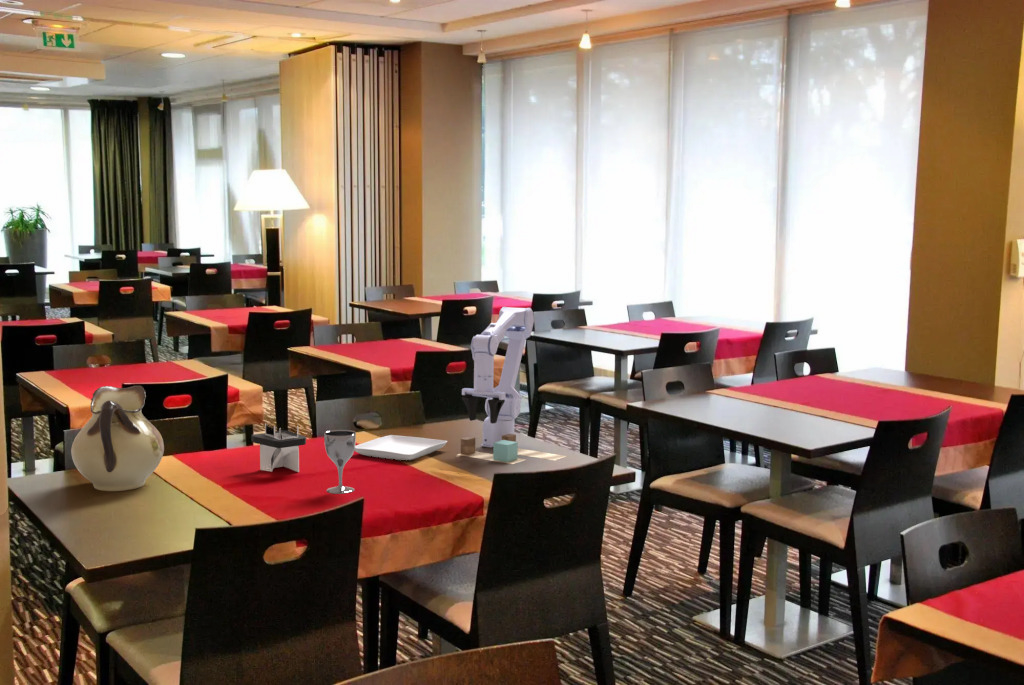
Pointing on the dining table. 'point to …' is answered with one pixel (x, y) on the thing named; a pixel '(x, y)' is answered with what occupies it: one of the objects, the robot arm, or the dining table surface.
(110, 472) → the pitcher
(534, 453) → the empty strip
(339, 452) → the wine glass
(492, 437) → the robot arm
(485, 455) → the strip
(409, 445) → the salad plate
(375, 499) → the dining table surface
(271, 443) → the black-topped pedestal
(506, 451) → the teal block
